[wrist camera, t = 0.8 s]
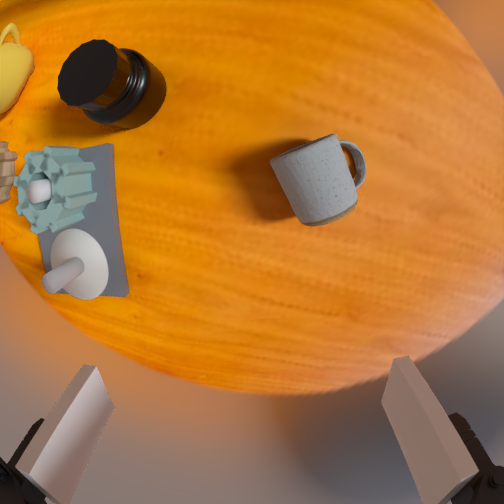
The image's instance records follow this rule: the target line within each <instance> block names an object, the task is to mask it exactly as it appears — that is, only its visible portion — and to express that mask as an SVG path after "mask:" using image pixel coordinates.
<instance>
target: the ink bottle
mask: <svg viewBox="0 0 504 504" xmlns="http://www.w3.org/2000/svg"><path fill="white" fill-rule="evenodd" d="M57 89H58V91H59V94H60V98H61V99H62V100H63V101H65V102H66V103H67V105H70V106H74V107H78V108H82V110H83V111H84V113H85V114H86V115H87V116H88V117H89V118H90V119H92V120H93V121H95V122H98V123H101V124H106V125H111V126H115V127H119V128H125V129H130V128H136V127H139V126H141V125H143V124H145V123H146V122H148V121H149V120H150V119H151V118H152V117H154V116H155V114H156V113H157V112H158V111H159V109H160V108H161V106H162V104H163V102H164V100H165V96H166V82H165V79H164V77H163V75H162V73H161V72H160V71H159V70H158V69H157V68H156V67H155V66H154V65H153V64H152V63H151V62H150V61H148V60H147V59H146V58H145V57H144V56H143V55H142V54H140V53H139V52H137V51H135V50H132V49H126V48H120V49H118V48H117V47H115V46H114V45H113V44H110V43H109V42H108V41H106V40H104V39H103V40H95V39H94V40H92V41H89V42H86V43H83V44H81V45H80V46H79V47H78V48H77V49H75V50H74V51H73V52H72V53H71V54H70V55H69V57H68V58H67V59H66V61H65V62H64V63H63V65H62V68H61V71H60V74H59V76H58V87H57Z"/></svg>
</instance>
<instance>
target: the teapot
mask: <svg viewBox="0 0 504 504" xmlns="http://www.w3.org/2000/svg"><path fill="white" fill-rule="evenodd" d="M8 33H10V34H11V35H12V37H13V39H14V42H7V41H4V39H5V37H6V35H7V34H8ZM34 69H35V65H34V56H33V54H32V52H31V51H30V50H29V49H28V48H27V47H26V46H24V45H22V44H21V43H20V36H19V31H18V28H17V26H16V25H15V24H14V23H10V24H8V25H7V26H6V27H5V28H4V30H3V31H2V33H1V35H0V114H2V113H4V112H6V111H7V110H9V109H10V108H11V107H12V106H13V105H14V104H16V103H17V102H18V100H19V95H20V93H21V91H22V90H23V88H24V86H25V84H26V82H27V79H28V77H29V76H30V75H31V74H32V73H33V71H34Z"/></svg>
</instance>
